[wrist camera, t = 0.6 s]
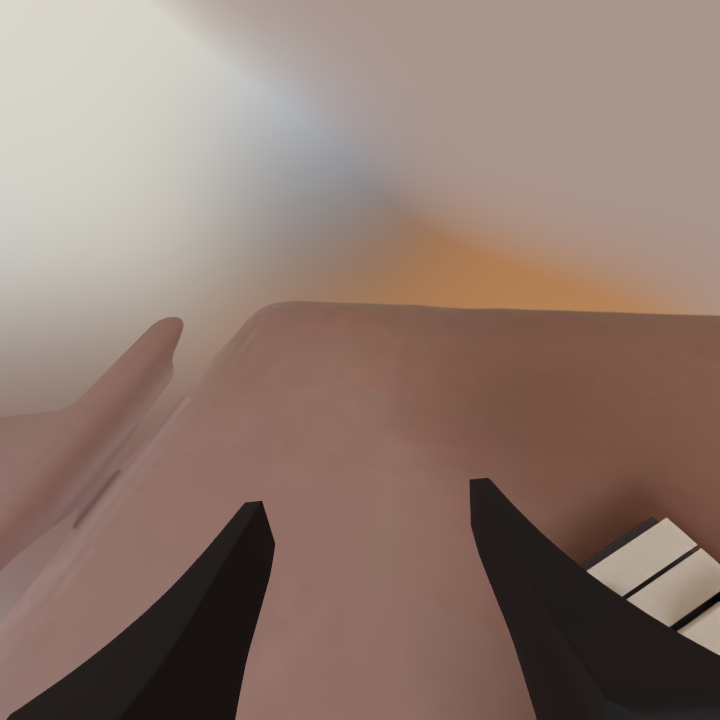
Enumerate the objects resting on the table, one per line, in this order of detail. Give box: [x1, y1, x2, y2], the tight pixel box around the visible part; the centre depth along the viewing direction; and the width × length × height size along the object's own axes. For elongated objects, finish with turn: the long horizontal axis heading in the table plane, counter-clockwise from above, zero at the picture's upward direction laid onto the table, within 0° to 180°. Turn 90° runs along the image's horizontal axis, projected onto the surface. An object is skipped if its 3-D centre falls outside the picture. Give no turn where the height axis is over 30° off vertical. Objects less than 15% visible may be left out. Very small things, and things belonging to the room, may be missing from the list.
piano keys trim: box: [587, 517, 720, 627], centre depth 18 cm, size 9×12×1 cm
